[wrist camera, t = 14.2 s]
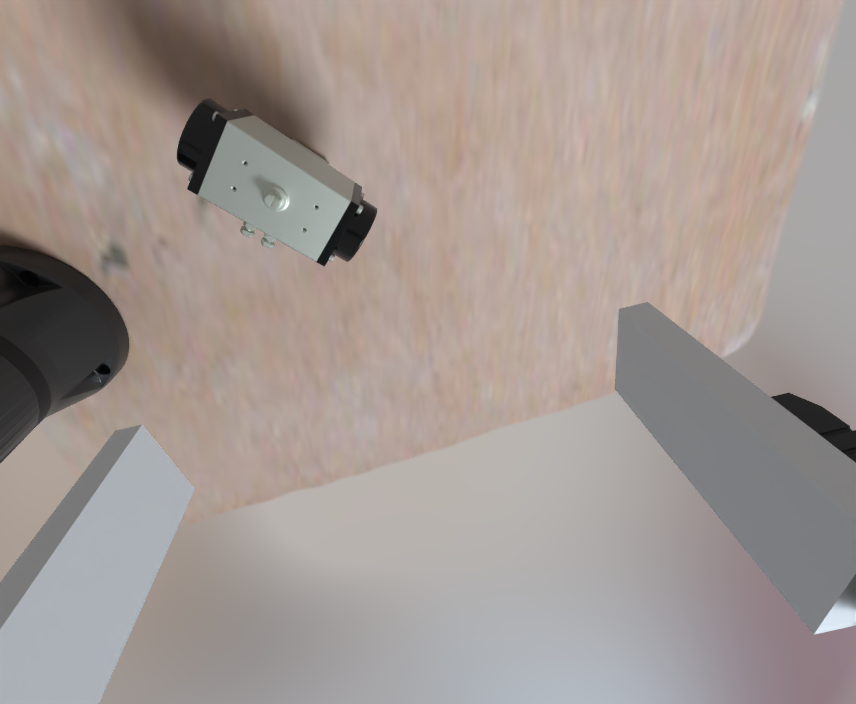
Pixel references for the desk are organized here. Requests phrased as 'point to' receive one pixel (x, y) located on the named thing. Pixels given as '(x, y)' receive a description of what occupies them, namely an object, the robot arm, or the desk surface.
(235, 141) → the pneumatic valve
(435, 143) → the desk surface
